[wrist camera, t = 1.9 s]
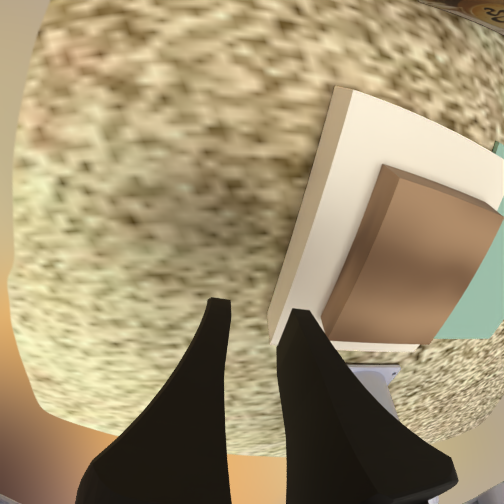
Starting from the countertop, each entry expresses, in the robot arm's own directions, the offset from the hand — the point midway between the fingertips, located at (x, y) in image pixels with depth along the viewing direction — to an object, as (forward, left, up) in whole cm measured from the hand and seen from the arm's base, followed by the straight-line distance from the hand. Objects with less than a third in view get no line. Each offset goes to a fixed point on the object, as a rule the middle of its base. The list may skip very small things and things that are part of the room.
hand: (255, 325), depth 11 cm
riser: (0, -9, -9) cm, 13 cm away
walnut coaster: (0, -10, -6) cm, 11 cm away
